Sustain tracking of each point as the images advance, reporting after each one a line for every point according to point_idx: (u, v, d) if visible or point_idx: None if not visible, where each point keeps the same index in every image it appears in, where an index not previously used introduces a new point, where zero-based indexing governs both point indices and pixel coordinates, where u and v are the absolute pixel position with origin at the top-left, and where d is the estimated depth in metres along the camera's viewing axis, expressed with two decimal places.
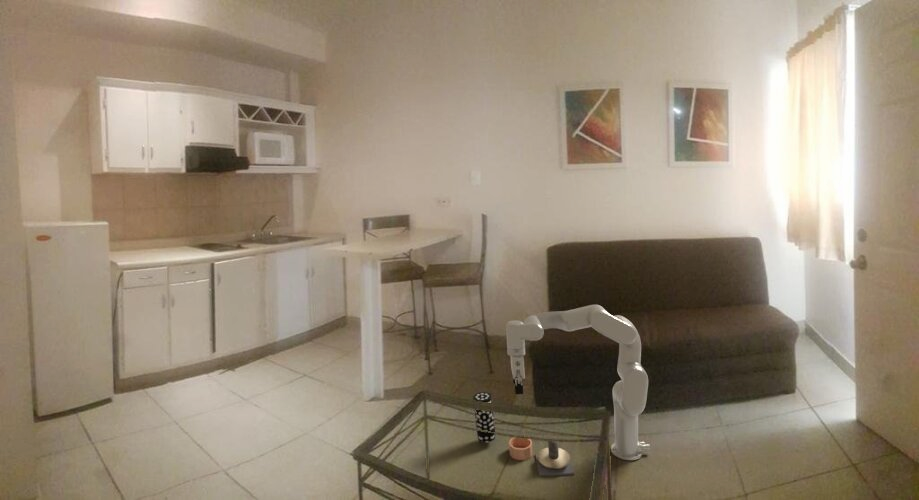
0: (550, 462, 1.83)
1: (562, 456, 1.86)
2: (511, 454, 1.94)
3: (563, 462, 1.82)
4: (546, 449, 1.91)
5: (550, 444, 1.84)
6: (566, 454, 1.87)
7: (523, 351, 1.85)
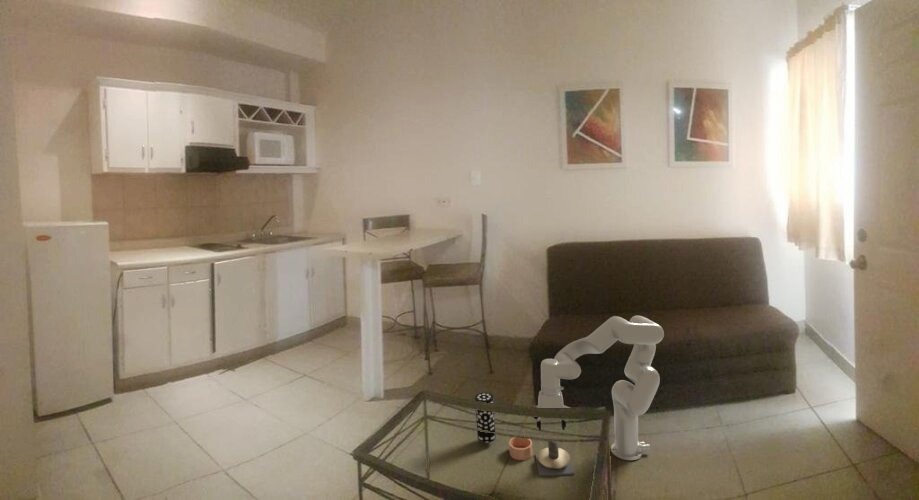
0: (550, 462, 1.83)
1: (562, 456, 1.86)
2: (511, 454, 1.94)
3: (563, 462, 1.82)
4: (546, 449, 1.91)
5: (550, 444, 1.84)
6: (566, 454, 1.87)
7: None
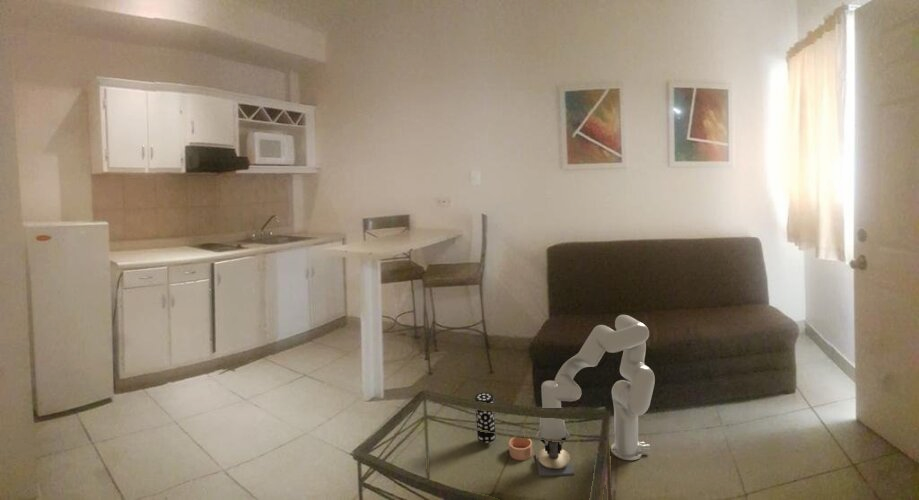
0: (550, 462, 1.83)
1: (562, 456, 1.86)
2: (511, 454, 1.94)
3: (563, 462, 1.82)
4: None
5: (550, 444, 1.84)
6: (566, 454, 1.87)
7: None
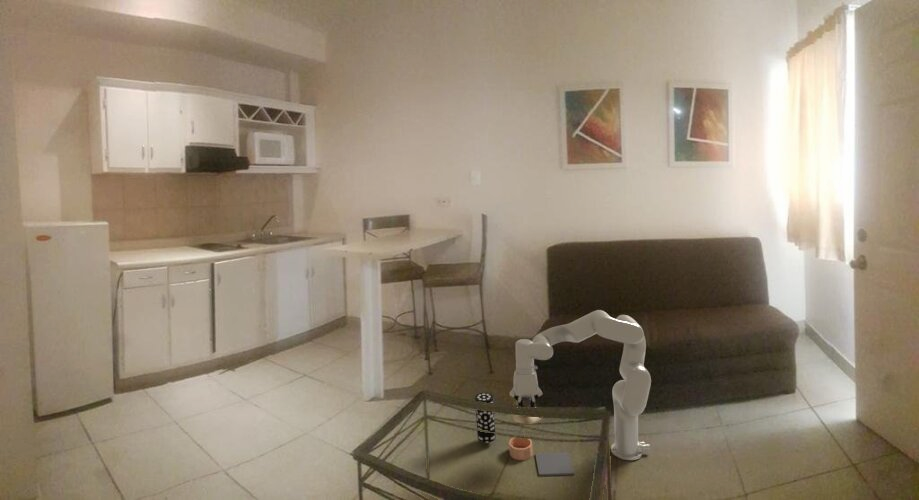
0: (522, 418, 1.87)
1: None
2: (511, 454, 1.94)
3: (535, 418, 1.86)
4: None
5: (523, 401, 1.88)
6: None
7: None
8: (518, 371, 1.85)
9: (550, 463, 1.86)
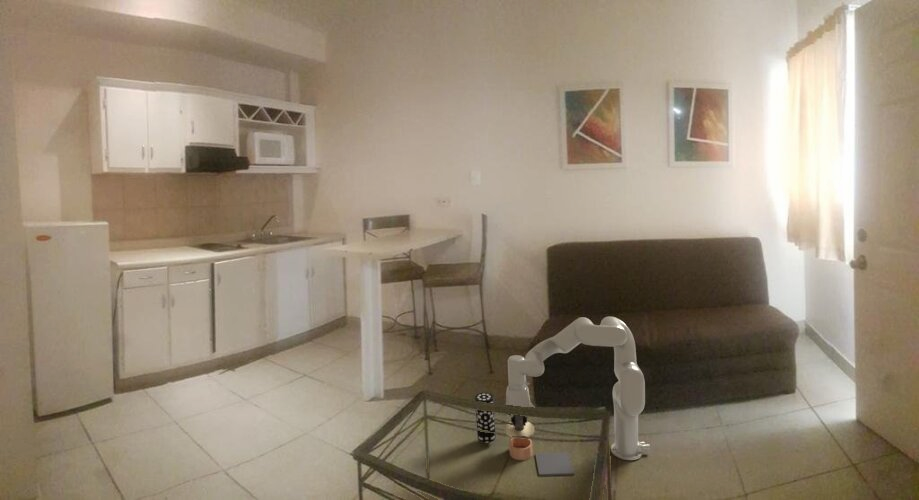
0: (515, 433, 1.91)
1: (527, 428, 1.94)
2: (511, 454, 1.94)
3: (527, 433, 1.90)
4: None
5: (516, 416, 1.92)
6: (531, 426, 1.95)
7: None
8: (510, 387, 1.89)
9: (550, 463, 1.86)
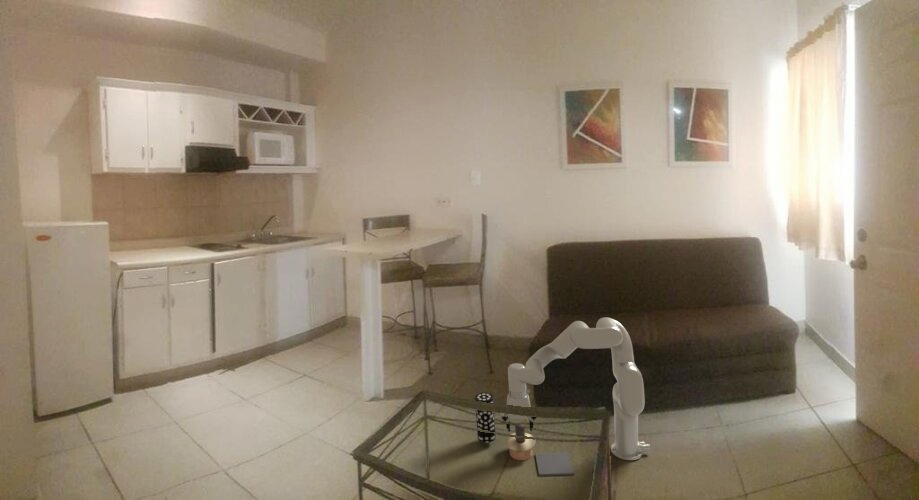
0: (516, 445, 1.92)
1: (528, 440, 1.95)
2: (511, 454, 1.94)
3: (529, 446, 1.91)
4: (514, 434, 2.00)
5: (517, 429, 1.93)
6: None
7: None
8: (511, 395, 1.90)
9: (550, 463, 1.86)
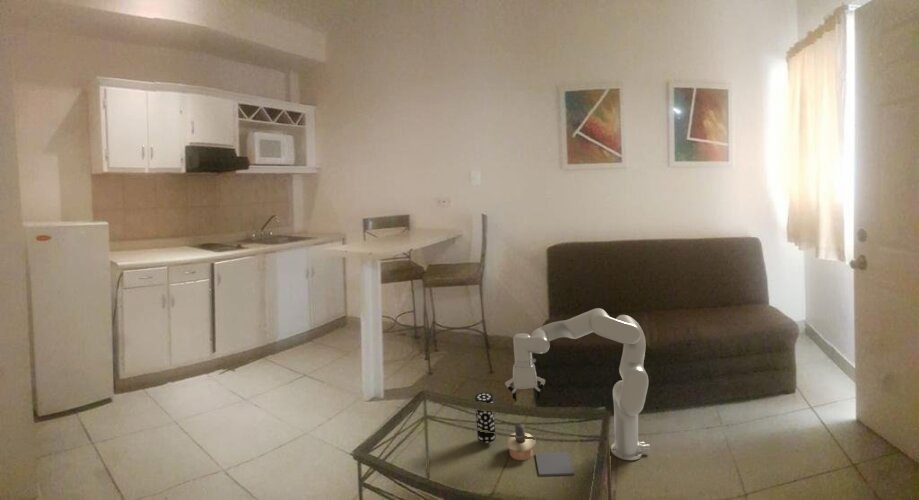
0: (516, 445, 1.92)
1: (528, 440, 1.95)
2: (511, 454, 1.94)
3: (529, 446, 1.91)
4: (514, 434, 2.00)
5: (517, 429, 1.93)
6: None
7: None
8: (517, 364, 1.90)
9: (550, 463, 1.86)
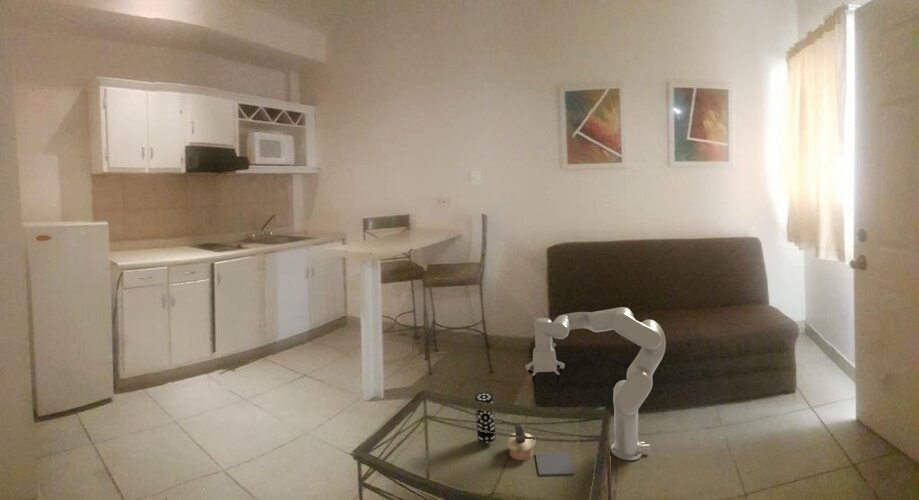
0: (516, 445, 1.92)
1: (528, 440, 1.95)
2: (511, 454, 1.94)
3: (529, 446, 1.91)
4: (514, 434, 2.00)
5: (517, 429, 1.93)
6: None
7: None
8: (537, 348, 1.95)
9: (550, 463, 1.86)
